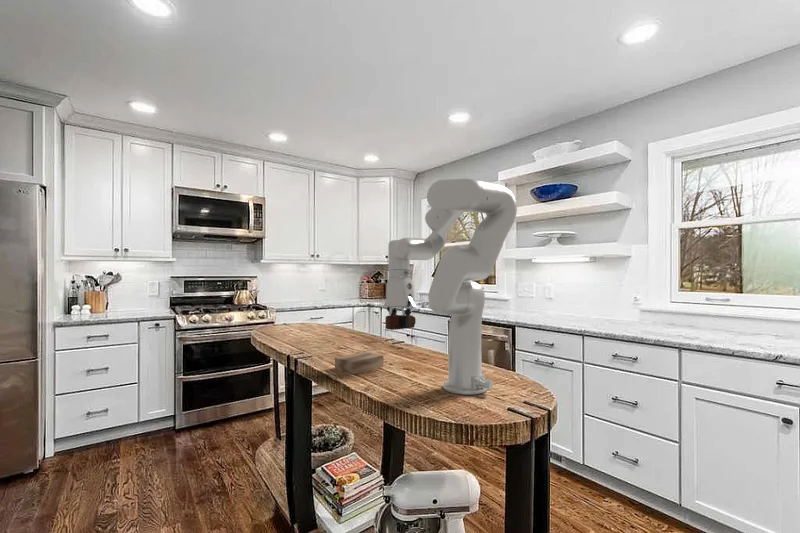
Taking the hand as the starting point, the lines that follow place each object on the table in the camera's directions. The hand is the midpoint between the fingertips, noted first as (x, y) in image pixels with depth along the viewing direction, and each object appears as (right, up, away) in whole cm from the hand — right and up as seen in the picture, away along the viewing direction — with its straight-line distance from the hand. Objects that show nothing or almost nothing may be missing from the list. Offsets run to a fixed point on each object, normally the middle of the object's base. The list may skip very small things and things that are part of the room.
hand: (399, 326), depth 143 cm
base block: (-14, -15, +1) cm, 21 cm away
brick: (0, -1, 0) cm, 1 cm away
